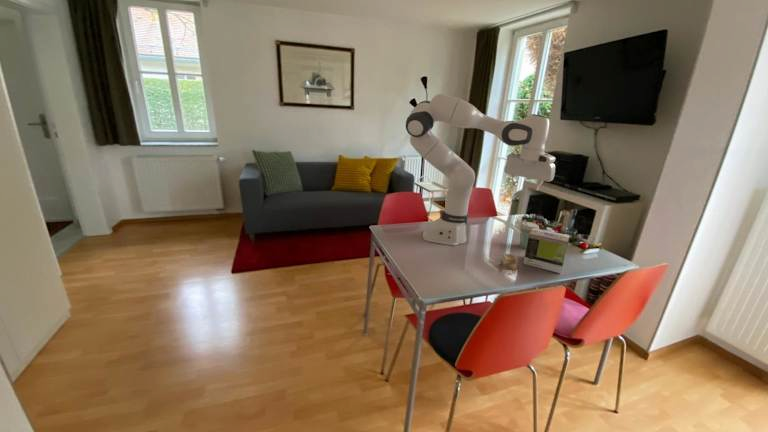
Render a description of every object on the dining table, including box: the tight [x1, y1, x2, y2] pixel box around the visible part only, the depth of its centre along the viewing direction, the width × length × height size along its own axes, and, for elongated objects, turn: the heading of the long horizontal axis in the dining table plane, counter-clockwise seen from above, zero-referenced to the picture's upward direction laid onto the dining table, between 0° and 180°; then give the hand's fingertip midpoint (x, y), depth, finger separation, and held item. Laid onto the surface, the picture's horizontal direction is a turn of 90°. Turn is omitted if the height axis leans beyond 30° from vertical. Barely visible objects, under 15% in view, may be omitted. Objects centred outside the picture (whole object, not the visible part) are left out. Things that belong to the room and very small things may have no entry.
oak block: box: [500, 253, 519, 271], centre depth 136 cm, size 5×5×5 cm
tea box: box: [523, 228, 570, 274], centre depth 138 cm, size 15×10×15 cm, turn 58°
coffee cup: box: [519, 221, 540, 250], centre depth 157 cm, size 9×8×12 cm
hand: (525, 187), depth 137 cm, fingers open, 8 cm apart
